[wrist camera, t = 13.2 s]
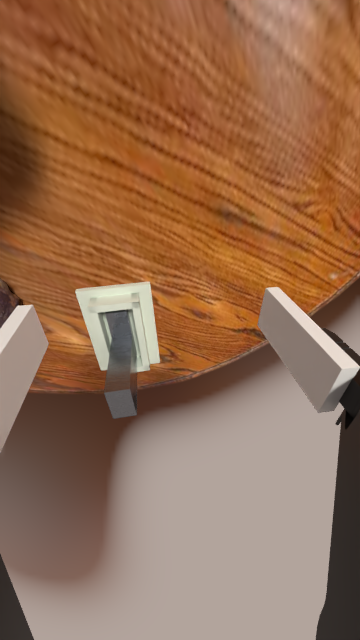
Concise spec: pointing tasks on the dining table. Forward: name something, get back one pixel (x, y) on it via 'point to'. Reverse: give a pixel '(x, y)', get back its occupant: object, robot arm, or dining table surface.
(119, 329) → the grey l-shaped block
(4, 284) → the rock
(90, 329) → the rectangular frame
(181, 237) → the dining table surface
